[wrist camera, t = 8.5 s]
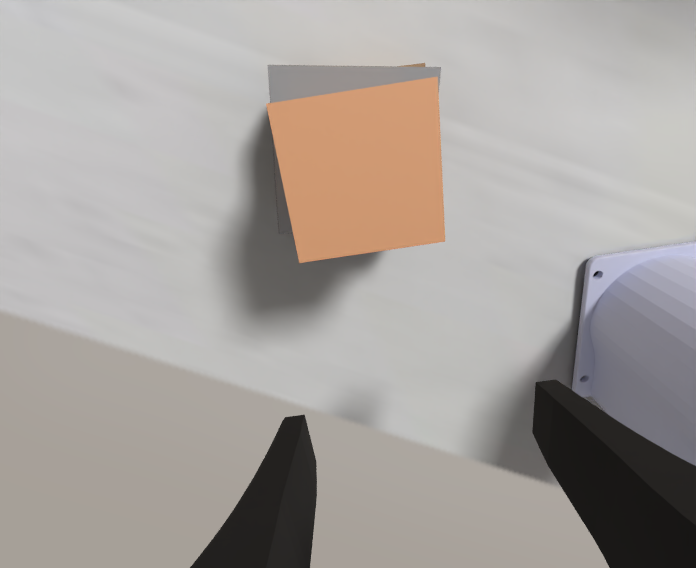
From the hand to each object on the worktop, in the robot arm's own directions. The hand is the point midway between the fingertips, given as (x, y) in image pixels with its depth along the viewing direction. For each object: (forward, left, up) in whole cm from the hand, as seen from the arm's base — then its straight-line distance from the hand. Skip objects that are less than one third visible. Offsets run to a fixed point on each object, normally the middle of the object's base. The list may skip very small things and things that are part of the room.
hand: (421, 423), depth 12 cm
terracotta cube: (+7, +1, -6) cm, 10 cm away
